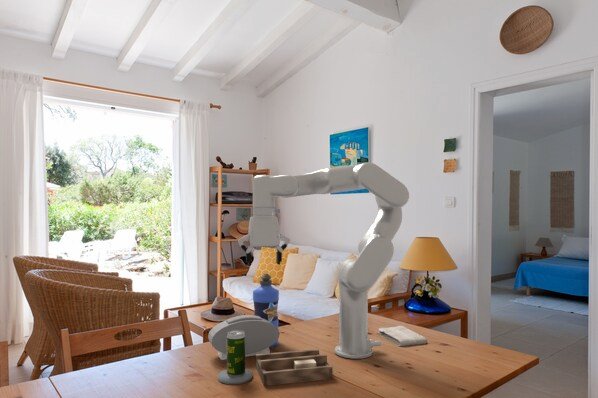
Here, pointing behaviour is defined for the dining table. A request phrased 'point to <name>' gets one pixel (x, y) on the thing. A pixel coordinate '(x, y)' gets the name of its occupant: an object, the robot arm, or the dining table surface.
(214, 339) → the alarm clock
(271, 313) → the water bottle
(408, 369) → the dining table surface
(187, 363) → the dining table surface
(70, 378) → the dining table surface
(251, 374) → the grey glossy dome
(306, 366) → the top offcut
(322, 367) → the rack
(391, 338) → the washcloth
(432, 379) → the dining table surface
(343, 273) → the robot arm
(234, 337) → the beer can
